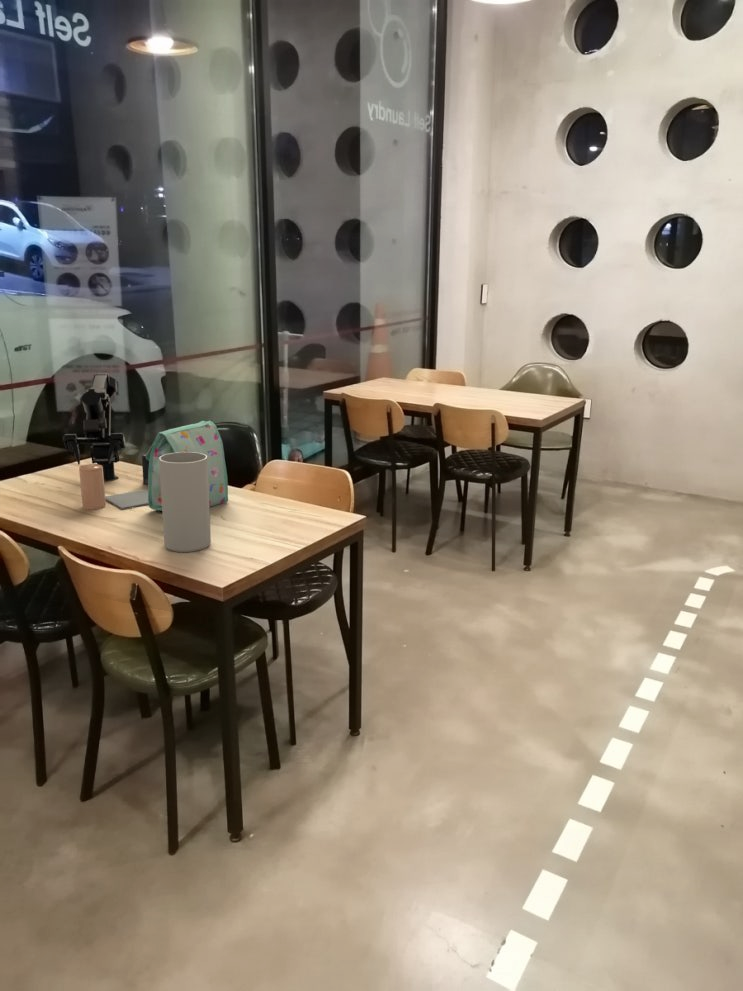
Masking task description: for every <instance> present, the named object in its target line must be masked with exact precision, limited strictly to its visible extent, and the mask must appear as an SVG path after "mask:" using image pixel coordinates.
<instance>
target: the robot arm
mask: <svg viewBox="0 0 743 991" xmlns="http://www.w3.org/2000/svg"><path fill="white" fill-rule="evenodd" d="M117 393H118V382H117V379H115V378H114V377H112V376H111V375H110V374H109V373H107V372H104V373H103V372H101V373H99V372H98V373H97V372H96V373H94V374H93V378H91V388H88V389H86V391H85V393H83V394H82V396H81V402H82V405H83V408H84V412H85V413H86V416H85V417H86V418H85V419H84V420H83V435H84V436H85V437H78V435H77V433H65V434H64V435H63V436H62V442H63V445H64V446H63V447H64V448H65V450H66V451H69V452H70V453H73V454H74V456H75V459H76V462H77V465H80V463H81V458H80V455H81V454H80V449H79V448H80V446H79V445H91V446H90V456H91V457H90V458H91V464H99V465H102V467H103V476H104V482H105V481H111V480H112V481H113V480H118V479H119V476H117V475H116V473H115V464H117V463H119V462H120V454H119V452H120V451H121V450H122V449H125V448H126V439H125V434H124V433H123V432H111V424H112V423H111V422H112V421H111V417H112V416H111V415H112V410H111V409H112V403H113V402H114V401H115V400H116V398H117V395H116V394H117ZM80 466H81V465H80Z"/></svg>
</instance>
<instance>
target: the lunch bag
mask: <svg viewBox="0 0 743 991" xmlns="http://www.w3.org/2000/svg"><path fill="white" fill-rule="evenodd" d="M176 452H197V453H202V454H205V455H207V464H208V487H209V508H210V507H214V506H217V505H221V504H225V503H228V501H229V482H228V481H229V480H228V473H227V472H228V471H227V466H226V460H225V450H224V444H223V439H222V438H221V434H220V432H219V430H218V427H217V425H216V424H215V423H214V422H213V421H211V420H208V421H205V420H201V421H199V422H197V423H191V424H187V425H183V426H178V427H174V428H169V429H167V430H162V431H159V432H158V433H157V435H156V437H155V439H154V441H153V443H152V444H151V445H150V447H149V449H148V451H147V452H146V453H147V455H146V460H148V461H149V472H148V484H147V490H148V504H149V505H148V507H149V508H150V509H151V510H153V511H162V497H161V481H160V464H159V457H161V456H162V455H165V454H169V453H176Z"/></svg>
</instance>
